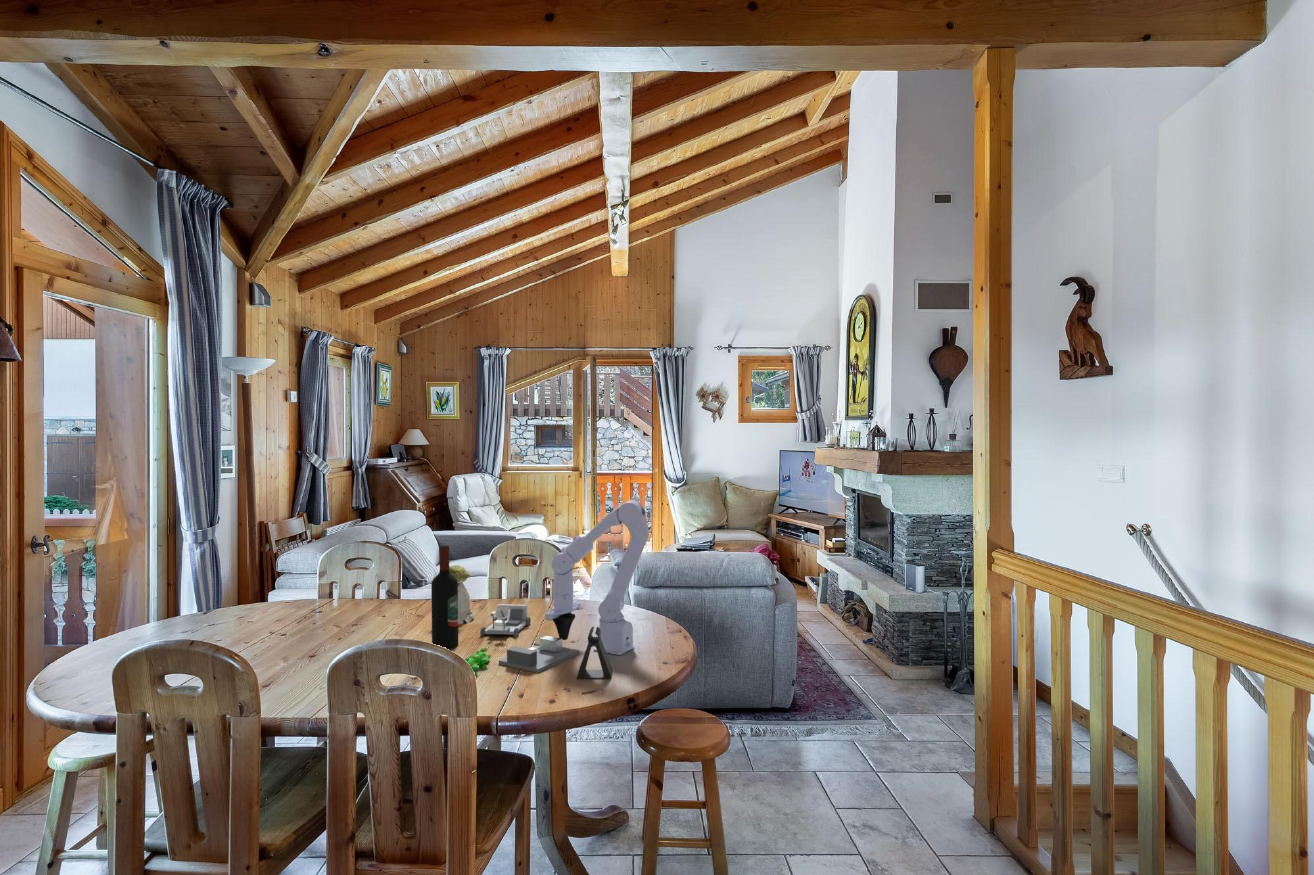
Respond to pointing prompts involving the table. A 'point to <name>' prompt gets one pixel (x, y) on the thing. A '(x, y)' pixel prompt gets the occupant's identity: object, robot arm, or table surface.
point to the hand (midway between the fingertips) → (563, 639)
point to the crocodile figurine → (478, 659)
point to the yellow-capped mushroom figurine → (462, 594)
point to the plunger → (550, 644)
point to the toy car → (508, 620)
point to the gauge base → (545, 659)
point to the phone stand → (603, 658)
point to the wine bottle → (444, 604)
